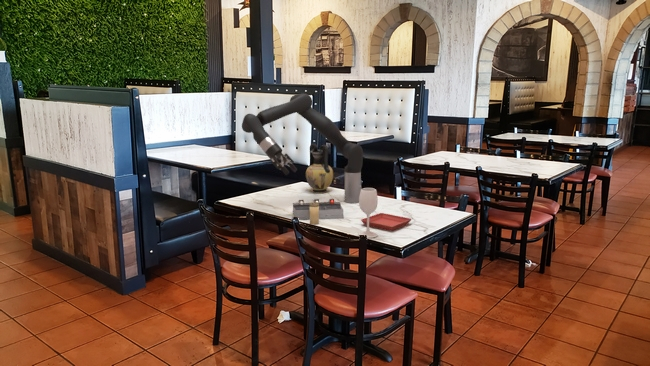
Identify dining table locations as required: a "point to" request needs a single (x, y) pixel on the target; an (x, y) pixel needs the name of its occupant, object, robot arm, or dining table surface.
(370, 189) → the wineglass
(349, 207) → the dining table surface
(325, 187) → the amphora
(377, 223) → the plant saucer
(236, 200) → the dining table surface
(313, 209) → the lockout cap
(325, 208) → the push button box
